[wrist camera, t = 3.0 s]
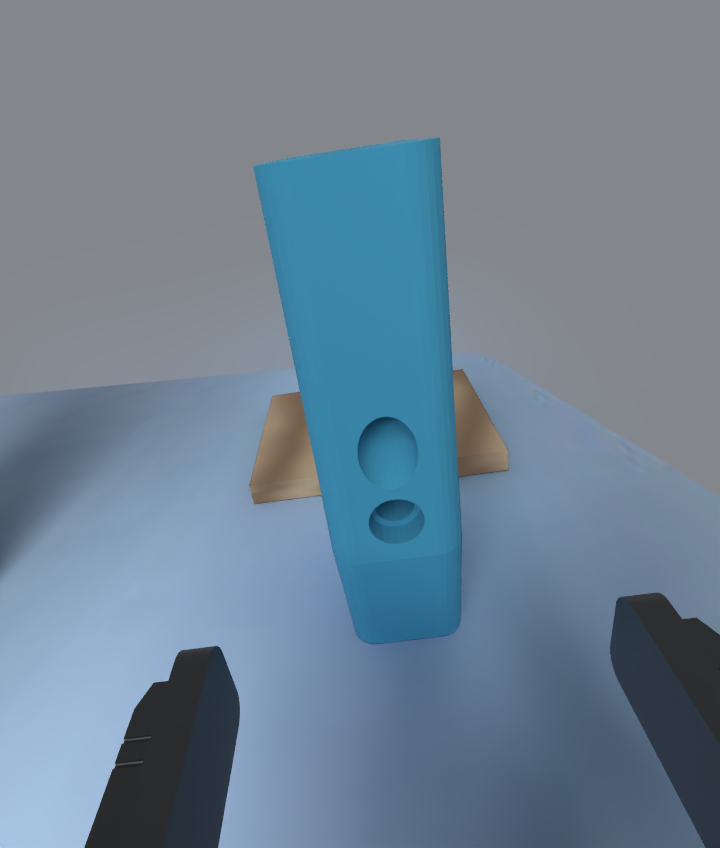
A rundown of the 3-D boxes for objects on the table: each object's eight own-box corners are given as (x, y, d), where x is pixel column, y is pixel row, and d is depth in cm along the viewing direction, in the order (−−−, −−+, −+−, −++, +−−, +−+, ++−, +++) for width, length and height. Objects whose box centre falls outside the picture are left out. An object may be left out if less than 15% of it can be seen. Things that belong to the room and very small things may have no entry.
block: (352, 509, 33) (290, 157, 24) (431, 499, 33) (400, 140, 24) (356, 680, 23) (247, 167, 13) (472, 667, 22) (446, 137, 13)
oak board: (254, 504, 35) (249, 485, 34) (275, 410, 47) (272, 395, 47) (508, 469, 35) (508, 450, 34) (463, 384, 47) (462, 368, 46)
